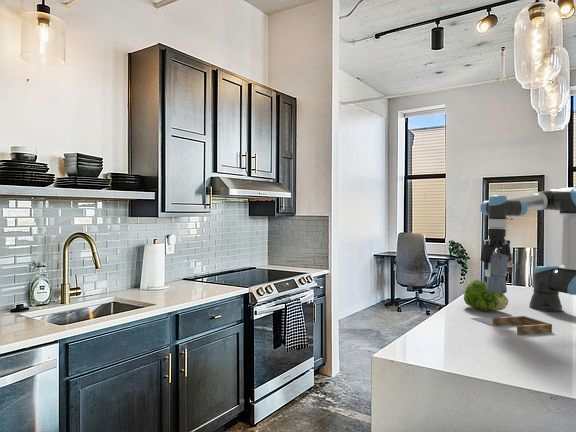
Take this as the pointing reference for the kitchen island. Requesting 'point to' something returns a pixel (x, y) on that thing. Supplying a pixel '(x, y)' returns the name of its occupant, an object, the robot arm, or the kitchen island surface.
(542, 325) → the brown wooden frame
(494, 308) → the lettuce
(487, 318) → the mat
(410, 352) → the kitchen island surface
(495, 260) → the moka pot
